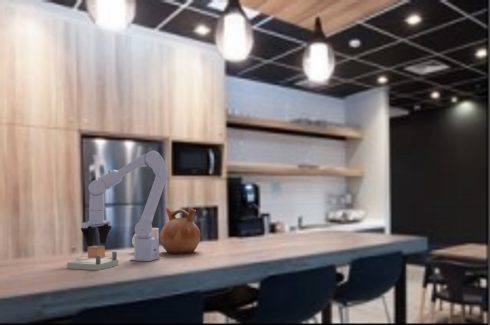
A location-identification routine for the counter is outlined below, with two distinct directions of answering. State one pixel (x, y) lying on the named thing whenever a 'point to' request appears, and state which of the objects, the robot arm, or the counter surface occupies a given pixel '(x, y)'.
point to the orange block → (96, 251)
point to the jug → (180, 233)
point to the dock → (94, 263)
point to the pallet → (101, 258)
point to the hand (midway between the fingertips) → (96, 244)
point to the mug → (153, 232)
